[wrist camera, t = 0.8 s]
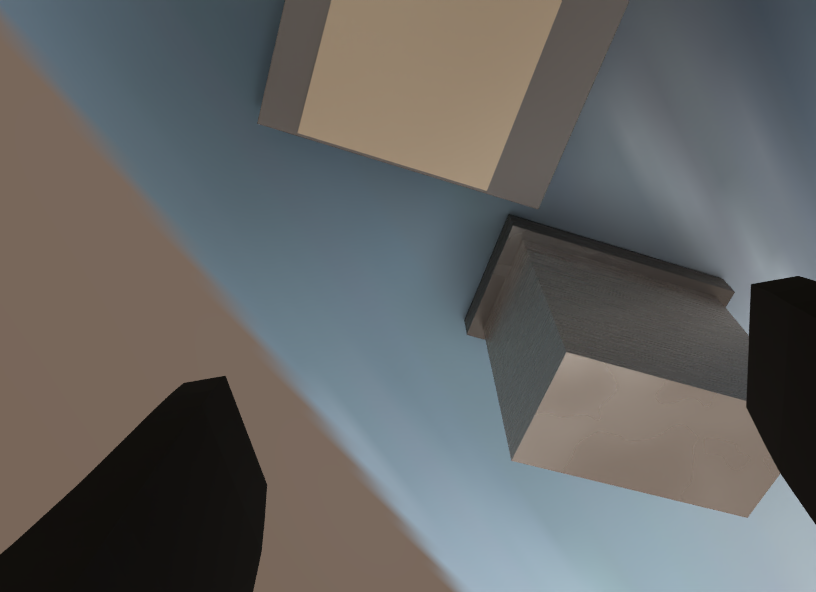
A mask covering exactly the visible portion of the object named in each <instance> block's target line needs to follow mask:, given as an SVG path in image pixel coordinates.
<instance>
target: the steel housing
mask: <svg viewBox="0 0 816 592" xmlns="http://www.w3.org/2000/svg"><path fill="white" fill-rule="evenodd" d="M734 293H735V292H734V291H733V290H732V288H731V287H730V286H729V285H728V284H727V283H726V282H725V281H724V279H721V278H718V277H714V276H711V275H708V274H704V273H701V272H698V271H694V270H691V269H688V268H684V267H681V266H678V265H675V264H671V263H668V262H665V261H661V260H658V259H655V258H651V257H648V256H645V255H641V254H638V253H635V252H632V251H628V250H625V249H622V248H618V247H615V246H612V245H608V244H605V243H602V242H598V241H595V240H592V239H589V238H585V237H582V236H579V235H575V234H572V233H569V232H565V231H562V230H559V229H555V228H552V227H549V226H546V225H542V224H539V223H536V222H532V221H529V220H526V219H522V218H519V217H516V216H512V215H508V218H507V220H506V222H505V225H504V227H503V230H502V232H501V234H500V237H499V239H498V242H497V244H496V246H495V249H494V251H493V254H492V256H491V258H490V261H489V263H488V265H487V268H486V270H485V273H484V275H483V277H482V280H481V282H480V285H479V287H478V289H477V292H476V294H475V297H474V299H473V301H472V304H471V306H470V309H469V311H468V313H467V316H466V318H465V327H466V333H467V335H470V336H474V337H477V338H481V339H485V340H486V344H487V349H488V354H489V358H490V363H491V368H492V372H493V377H494V382H495V386H496V391H497V396H498V400H499V405H500V409H501V414H502V419H503V423H504V428H505V433H506V437H507V442H508V447H509V451H510V456H511V461H515V462H519V463H523V464H527V465H532V466H536V467H540V468H544V469H548V470H552V471H556V472H561V473H565V474H569V475H573V476H577V477H581V478H585V479H589V480H594V481H598V482H602V483H606V484H610V485H614V486H618V487H623V488H627V489H631V490H635V491H639V492H643V493H647V494H651V495H656V496H660V497H664V498H668V499H672V500H676V501H680V502H685V503H689V504H693V505H697V506H701V507H705V508H709V509H713V510H718V511H722V512H726V513H730V514H734V515H738V516H742V517H747V518H748V516H749V515H750V514H751V512H752V511H753V510H754V508H755V507H756V505H757V504H758V503H759V501H760V500H761V499H762V497H763V496H764V495H765V493H766V492H767V491H768V489H769V488H770V487H771V485H772V484H773V483H774V481H775V480H776V479H777V477H778V476H779V475H780V472H779V470H778V469H777V467H776V465H775V463H774V461H773V459H772V457H771V455H770V454H769V452H768V450H767V448H766V446H765V444H764V442H763V440H762V438H761V436H760V434H759V432H758V430H757V428H756V426H755V424H754V422H753V420H752V418H751V416H750V414H749V412H748V410H747V408H746V397H747V373H748V348H749V335H748V334H747V333H746V332H745V331H744V329H743V328H742V327H741V326H740V324H739V323H738V322H737V321H736V320H735V318H734V317H733V316H732V315H731V314H730V312H729V311H728V310H727V309H726V306H727V304H728V302H729V301H730V299H731V297H732V296H733V294H734Z"/></svg>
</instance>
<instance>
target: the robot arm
mask: <svg viewBox="0 0 816 592" xmlns="http://www.w3.org/2000/svg"><path fill="white" fill-rule="evenodd" d="M746 408H747V410H748V412H749V414H750V416H751V418H752V420H753V422H754V424H755V426H756V428H757V430H758V432H759V434H760V436H761V438H762V440H763V442H764V444H765V446H766V448H767V450H768V452H769V454H770V455H771V457H772V459H773V461H774V463H775V465H776V467H777V469H778V470H779V472H780V473H781V475H782V476H783V478H784V479H785V481H786V482H787V484H788V485H789V487H790V488H791V490H792V491H793V492H794V494H795V495H796V497H797V498H798V500H799V501H800V503H801V504H802V505H803V507H804V508H805V510H806V511H807V513H808V514H809V516H810V517H811V518H812V520H813V521H814V523H815V524H816V281H814V280H810V279H807V278H804V277H800V276H795V277H790V278H784V279H778V280H773V281H767V282H761V283H755V284H751V299H750V324H749V348H748V373H747V397H746ZM266 492H267V483H266V481H265V478H264V475H263V473H262V471H261V468H260V465H259V463H258V460H257V457H256V455H255V452H254V450H253V447H252V444H251V441H250V439H249V436H248V434H247V431H246V428H245V426H244V423H243V421H242V418H241V415H240V413H239V410H238V408H237V405H236V402H235V400H234V397H233V395H232V392H231V389H230V387H229V384H228V381H227V379H226V376H222V377H216V378H210V379H204V380H199V381H193V382H187V383H183V384H182V385H181V386H180V387H178V388H177V389H176V390H175V391H174V392H173V393H171V394H170V395H169V396H168V397H167V398H166V399H165V400H164V401H163V402H162V403H161V404H160V405H159V406H158V407H157V408H156V409H154V410H153V411H152V412H151V413H150V414H149V415H148V416H147V417H146V418H145V419H144V420H143V421H142V422H141V423H140V424H139V425H138V426H137V427H136V428H135V429H134V430H133V431H132V432H131V433H130V434H129V435H128V436H127V437H126V438H125V439H124V440H123V441H122V442H121V443H120V444H119V445H118V446H117V447H116V448H115V449H114V450H113V451H112V452H111V453H110V454H109V455H108V456H107V457H106V458H105V459H104V460H103V461H102V462H101V463H100V464H99V465H98V466H97V467H96V468H95V469H94V470H93V471H91V473H89V474H88V475H87V477H85V478H84V479H83V480H82V481H81V482H80V483H79V484H78V485H77V486H76V487H75V488H74V489H73V490H72V491H70V492H69V493H68V494H67V495H66V496H65V497H64V498H63V499H62V500H61V501H59V502H58V503H57V504H56V505H55V506H54V507H53V508H52V509H51V510H50V511H49V512H47V513H46V514H45V515H44V516H43V517H42V518H41V519H40V520H39V521H38V522H37V523H36V524H34V525H33V526H32V527H31V528H30V529H29V530H28V531H27V532H25V534H23V535H22V536H21V537H20V538H19V539H18V540H17V541H16V542H14V543H13V544H12V545H11V546H10V547H9V548H8V549H6V550H5V551H4V552H3V553H2V554H0V592H253V589H254V584H255V580H256V575H257V571H258V566H259V561H260V556H261V551H262V541H263V531H264V521H265V507H266Z"/></svg>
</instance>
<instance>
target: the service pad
mask: <svg viewBox="0 0 816 592" xmlns="http://www.w3.org/2000/svg"><path fill="white" fill-rule="evenodd" d="M629 1H630V0H285V4H284V8H283V12H282V17H281V21H280V26H279V30H278V34H277V39H276V43H275V48H274V52H273V56H272V61H271V65H270V70H269V74H268V78H267V83H266V87H265V92H264V96H263V101H262V105H261V109H260V114H259V118H258V123H257V124H260V125H264V126H267V127H270V128H274V129H277V130H280V131H283V132H287V133H290V134H293V135H296V136H300V137H303V138H306V139H310V140H313V141H316V142H319V143H323V144H326V145H329V146H332V147H336V148H339V149H342V150H346V151H349V152H352V153H355V154H359V155H362V156H365V157H368V158H372V159H375V160H378V161H382V162H385V163H388V164H391V165H395V166H398V167H401V168H404V169H408V170H411V171H414V172H418V173H421V174H424V175H427V176H431V177H434V178H437V179H440V180H444V181H447V182H450V183H453V184H457V185H460V186H463V187H467V188H470V189H473V190H476V191H480V192H483V193H486V194H489V195H493V196H496V197H499V198H503V199H506V200H509V201H512V202H516V203H519V204H522V205H525V206H529V207H532V208H535V209H539V207H540V204H541V202H542V200H543V197H544V195H545V193H546V191H547V188H548V186H549V184H550V181H551V179H552V177H553V175H554V172H555V170H556V168H557V165H558V163H559V161H560V159H561V156H562V154H563V152H564V149H565V147H566V145H567V142H568V140H569V138H570V136H571V133H572V131H573V129H574V126H575V124H576V122H577V120H578V117H579V115H580V113H581V110H582V108H583V106H584V104H585V101H586V99H587V97H588V94H589V92H590V90H591V88H592V85H593V83H594V81H595V78H596V76H597V74H598V72H599V69H600V67H601V65H602V62H603V60H604V58H605V56H606V53H607V51H608V49H609V46H610V44H611V42H612V39H613V37H614V35H615V33H616V30H617V28H618V26H619V23H620V21H621V19H622V17H623V14H624V12H625V10H626V7H627V5H628V3H629Z"/></svg>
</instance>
